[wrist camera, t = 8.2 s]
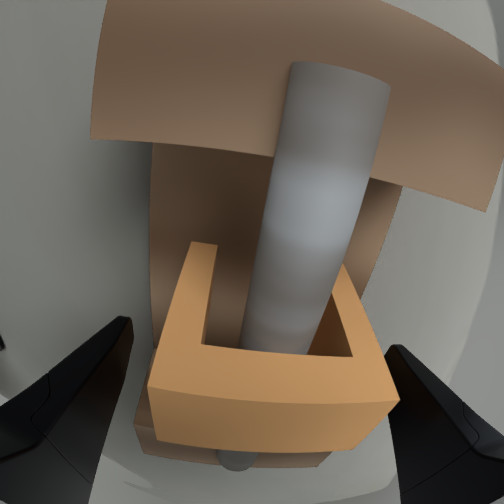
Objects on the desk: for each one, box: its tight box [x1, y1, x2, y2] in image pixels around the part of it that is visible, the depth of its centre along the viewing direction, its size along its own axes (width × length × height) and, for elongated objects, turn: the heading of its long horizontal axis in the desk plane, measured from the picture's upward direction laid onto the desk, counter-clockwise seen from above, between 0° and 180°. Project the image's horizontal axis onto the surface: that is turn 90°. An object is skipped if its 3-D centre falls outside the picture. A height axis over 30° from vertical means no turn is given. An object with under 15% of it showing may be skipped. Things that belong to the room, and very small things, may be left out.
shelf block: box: [90, 0, 504, 471], centre depth 11 cm, size 20×10×7 cm, turn 171°
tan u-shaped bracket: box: [147, 241, 400, 453], centre depth 10 cm, size 6×3×6 cm, turn 80°
